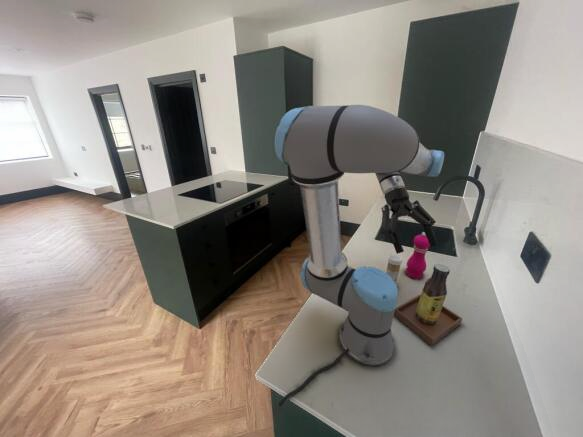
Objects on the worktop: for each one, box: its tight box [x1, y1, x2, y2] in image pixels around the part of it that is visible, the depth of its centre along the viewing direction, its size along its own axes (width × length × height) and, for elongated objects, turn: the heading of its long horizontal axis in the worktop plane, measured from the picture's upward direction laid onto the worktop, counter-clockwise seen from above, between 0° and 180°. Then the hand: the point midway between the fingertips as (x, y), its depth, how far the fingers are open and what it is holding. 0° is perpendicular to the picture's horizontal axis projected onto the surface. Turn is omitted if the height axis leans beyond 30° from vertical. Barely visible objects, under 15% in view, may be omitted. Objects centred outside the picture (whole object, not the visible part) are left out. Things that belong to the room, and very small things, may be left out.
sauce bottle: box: [416, 263, 451, 324], centre depth 71 cm, size 7×6×20 cm
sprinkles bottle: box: [385, 254, 403, 284], centre depth 88 cm, size 5×5×13 cm
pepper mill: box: [405, 231, 431, 280], centre depth 93 cm, size 7×7×20 cm
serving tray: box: [393, 293, 463, 347], centre depth 75 cm, size 15×13×3 cm
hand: (417, 249), depth 75 cm, fingers open, 13 cm apart
